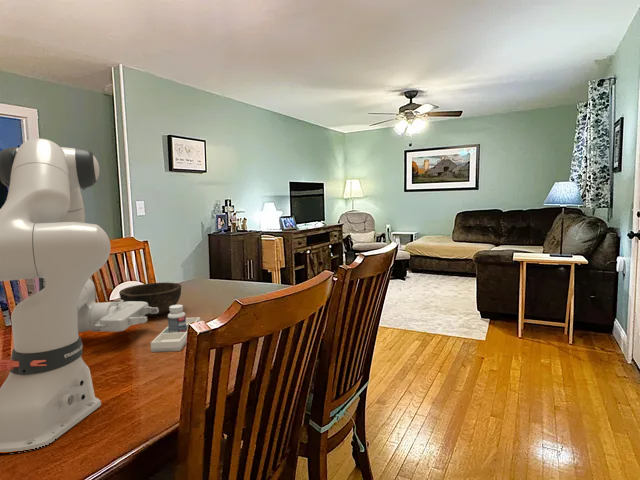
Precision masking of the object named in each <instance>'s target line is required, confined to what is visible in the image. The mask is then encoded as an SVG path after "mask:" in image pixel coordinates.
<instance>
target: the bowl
mask: <svg viewBox="0 0 640 480" xmlns="http://www.w3.org/2000/svg"><path fill="white" fill-rule="evenodd" d="M181 294H182V284H180V283H177V282H150V283H144V284H143V283H141V284H137V285H132V286H128V287H125V288H123V289H121V290H120V291H119V297H120V300H124V302H126V301H142V302H147V303H148V306H149V307H153V308H156V307H157V308H158V310H159V312H158V313H157V314H152V313H148V314H145V315H144V316H147V317H154V316H159V315H162V314H163V315H164V314H165V313H168V311H169V312H170V310H169V307H170V306H172V305H178V302H179V300H180V298H181Z"/></svg>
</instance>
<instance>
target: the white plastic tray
mask: <svg viewBox="0 0 640 480" xmlns="http://www.w3.org/2000/svg"><path fill="white" fill-rule="evenodd" d="M197 321H201V317H200V316H198V317H196V316H195V317H186V332H175V333H169V329H168V326H166V327H165V328H164V329H163V330H162V331H161V332H160V333H159V334H158V335H157V336H156V337H155V338H154V339H153V340H152V341H151V342H150V352H151V353H159V352H160V353H162V352H165V353H166V352H180V351H182V349H183V348H184V347H185V346H186V345H187V343H186V338H187V328H188V324H190V323H192V322H197ZM184 345H185V346H184Z"/></svg>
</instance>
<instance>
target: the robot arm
mask: <svg viewBox="0 0 640 480" xmlns="http://www.w3.org/2000/svg"><path fill="white" fill-rule="evenodd" d="M99 176H100V165H99V162H98V160H97V158H96V157H95V154H94V153H93V152H92V151H91V150H90V149H87V148H83V147H76V148H74V147H65V146H64V147H63V146H59V144H57V143H55V142H54V141H52V140H49V139H46V138H31V139H28V140H26V141H24V142H23V143H22V144H21V145H20V146H19V147H17V146H10V147H8V148H6V147H5V148H4V149H2V150H1V151H0V182H1V184H3V186H5V187H6V188H8V192H7V197H6V200H5V202H4V204H2V206H1V208H0V282H6V281H7V282H9V281H17V280H28V279H29V280H30V279H37V278H38V287H39V289H38V291H37V292H35V293H34V294H32V295H30V296H28V297H26V298H25V299H23V300H22V301H20V302H19V303H18V304H17V305H15V307H14V309H12V313H11V315H10V320H11V329H12V338H13V340H12V341H13V346H14V348H13V349H12V351H11V356H10V359H1V360H0V371H9V374H8V376H7V377H6V379H5V381H4V382H3V384H2V385H1V386H0V452H13V451H23V450H29V449H34V450H36V449H35V448H37V449H40V448H39V447H41V448H43V447H42V446H44V447H46V446H45V445H47V446H48V445H50V444H51V443H52V442H54V441H56V440H57V439H58V438H59V437H61V436H62V435H64V434H65V433H66V432H68V431H69V430H71V429H72V428H73V427H75V425H77V424H78V423H80V422H81V421H82V420H84V419H85V418H86V417H87V416H89V415H90V414H92V413H93V412H94V411H96V410H97V409H98V408H100V407H101V405H102V401H101V399H100V398H98V397H96V394H95V391H94V390H95V389H94V385H93V379H92V374H91V370H90V367H89V366H88V365H87V364H86V362H85V361H84V359H83V357H82V355H83V353H84V351H83V348H84V345H83V341H82V337H81V336H79V333H84V332H88V331H90V332H94V333H95V332H110V333H113V332H116V333H117V332H118V333H119V332H123V331H125V330H127V329H128V328H130V327H131V326H135V325H140V324H145V323H147V322H148V316H144V315H145V314H148V313H152V314H157V313H158V312H159V310H158V308H157V307H156V308H153V307H149V306H148V303H147V302H142V301H126V302H124V300H121V299H117V300H114V301H105V302H96V301H97V300H96V297H97V295H96V293H97V291H96V285H95V282H94V280H92V278H91V277H93V275H94V274H96V272H98V271H100V269H102V268H103V267H104V265H105V264H106V263H107V261H108V259H109V257H110V254H111V247H112V246H111V241H110V239H109V236H108V234H107V233H106V231H105V230H104V229H103V228H102V227H101V226H100V225H98V224H95V223H87V222H86V221H85V220H86V214H85V213H86V212H85V206H84V202H83V201H84V200H83V195H82V192H81V190H82V191H84V190H87V188H91V187H93V186H94V185H95V184H96V183H97V182H98V179H99ZM55 439H56V440H55ZM49 443H50V444H49ZM29 451H30V450H29Z"/></svg>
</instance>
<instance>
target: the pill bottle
mask: <svg viewBox="0 0 640 480" xmlns="http://www.w3.org/2000/svg"><path fill="white" fill-rule="evenodd" d="M186 318H187V317H186V313H185V312H184V306H183V304H176V305H172V306H170V307H169V313H168V314H167V324H168V325H167V327H168V329H169V333H175V332H186Z"/></svg>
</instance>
